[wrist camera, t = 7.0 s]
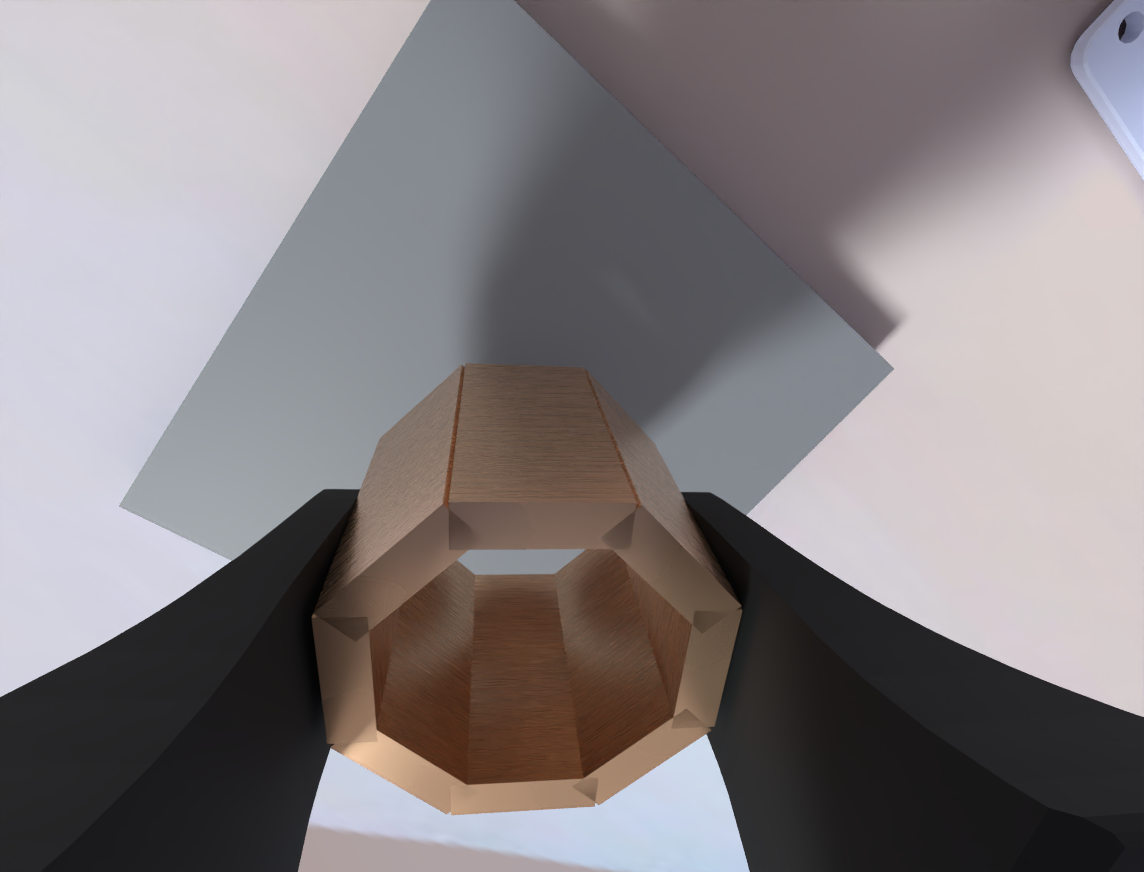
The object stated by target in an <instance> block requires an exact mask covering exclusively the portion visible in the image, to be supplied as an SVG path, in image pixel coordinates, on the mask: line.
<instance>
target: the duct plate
mask: <svg viewBox="0 0 1144 872" xmlns="http://www.w3.org/2000/svg"><path fill="white" fill-rule="evenodd" d="M465 363H478V364H506V365H534V366H562V367H583V369H584V370H585V369H587V370H588V371H589V372H590V374H591V375H592V376H593V377H594V378H595V379H596V380H597V381H598V382H599V383H600V384H601V386H602V387H603V388H604V389H605V390H606V391H607V392H608V393H609V394H610V395H611V396H612V398H613V399H614V400H615V401H616V402H617V403H618V404H619V405H620V406H621V407H622V408H623V410H624V411H625V412H626V413H627V414H628V415H629V416H630V417H631V418H632V419H633V420H634V422H635V423H636V424H637V425H638V426H639V427H640V428H641V429H642V430H643V431H644V432H645V434H646V435H647V436H648V437H649V438H650V439H651V440H652V441H653V442H654V443H655V445H656V447H657V449H658V451H659V453H660V454H661V456H662V458H663V460H664V462H665V464H666V466H667V467H668V469H669V471H670V473H671V475H672V477H673V479H674V481H675V482H676V484H677V486H678V488H679V490H680V492H711V493H712V494H714V495H716V496H718V497H719V498H721V499H723V500H724V501H726V502H727V503H729V504H730V505H732V506H733V507H734V508H736V509H737V510H739V511H740V512H742V513H743V514H745V515H747V514H748V513H749V512H750V511H751V510H752V509H753V508H754V507H755V506H756V505H757V504H758V503H759V502H760V501H761V500H762V499H763V498H764V497H765V496H766V495H767V494H768V493H769V492H770V491H771V490H772V489H773V488H774V487H775V486H776V485H777V484H778V483H779V482H780V481H781V480H782V479H783V478H784V477H785V476H786V475H787V474H788V473H789V472H790V471H791V470H792V469H793V468H794V467H795V466H796V465H797V464H798V463H799V462H800V461H801V460H802V459H804V458H805V457H806V456H807V455H808V454H809V453H810V452H811V451H812V450H813V449H814V448H815V447H816V446H817V445H818V444H819V443H820V442H821V441H822V440H823V439H824V438H825V437H826V436H827V435H828V434H829V433H830V432H831V431H832V430H833V429H834V428H835V427H836V426H837V425H838V424H839V423H840V422H841V421H842V420H843V419H844V418H845V417H846V416H847V415H848V414H849V413H850V412H851V411H852V410H853V409H854V408H855V407H856V406H857V405H858V404H859V403H860V402H861V401H862V400H863V399H864V398H865V397H866V396H867V395H868V394H869V393H870V392H871V391H872V390H873V389H874V388H875V387H876V386H877V385H878V384H879V383H880V382H881V381H882V380H883V379H884V378H885V377H886V376H887V375H888V374H889V373H890V372H892V371H893V370H894V368H893V367H892V366H891V365H890V364H889V363H888V362H887V361H886V360H885V359H884V358H883V357H882V356H881V355H880V354H879V353H877V352H876V351H875V350H874V349H873V348H872V347H871V346H870V345H869V344H868V343H867V342H866V341H865V340H864V339H863V338H862V337H861V336H860V335H859V334H858V333H857V332H856V331H855V330H854V329H853V328H852V327H851V326H850V325H849V324H848V323H847V322H845V321H844V320H843V319H842V318H841V317H840V316H839V315H838V314H837V313H836V312H835V311H834V310H833V309H832V308H831V307H830V306H829V305H828V304H827V303H826V302H825V301H824V300H823V299H822V298H821V297H820V296H819V295H818V294H817V293H816V292H815V291H813V290H812V289H811V288H810V287H809V286H808V285H807V284H806V283H805V282H804V281H803V280H802V279H801V278H800V277H799V276H798V275H797V274H796V273H795V272H794V271H793V270H792V269H791V268H790V267H789V266H788V265H787V264H786V263H785V262H784V261H783V260H782V259H780V258H779V257H778V256H777V255H776V254H775V253H774V252H773V251H772V250H771V249H770V248H769V247H768V246H767V245H766V244H765V243H764V242H763V241H762V240H761V239H760V238H759V237H758V236H757V235H756V234H755V233H754V232H753V231H752V230H751V229H750V228H748V227H747V226H746V225H745V224H744V223H743V222H742V221H741V220H740V219H739V218H738V217H737V216H736V215H735V214H734V213H733V212H732V211H731V210H730V209H729V208H728V207H727V206H726V205H725V204H724V203H723V202H722V201H721V200H720V199H719V198H718V197H717V196H715V195H714V194H713V193H712V192H711V191H710V190H709V189H708V188H707V187H706V186H705V185H704V184H703V183H702V182H701V181H700V180H699V179H698V178H697V177H696V176H695V175H694V174H693V173H692V172H691V171H690V170H689V169H688V168H687V167H686V166H685V165H683V164H682V163H681V162H680V161H679V160H678V159H677V158H676V157H675V156H674V155H673V154H672V153H671V152H670V151H669V150H668V149H667V148H666V147H665V146H664V145H663V144H662V143H661V142H660V141H659V140H658V139H657V138H656V137H655V136H654V135H653V134H651V133H650V132H649V131H648V130H647V129H646V128H645V127H644V126H643V125H642V124H641V123H640V122H639V121H638V120H637V119H636V118H635V117H634V116H633V115H632V114H631V113H630V112H629V111H628V110H627V109H626V108H625V107H624V106H623V105H622V104H621V103H620V102H618V101H617V100H616V99H615V98H614V97H613V96H612V95H611V94H610V93H609V92H608V91H607V90H606V89H605V88H604V87H603V86H602V85H601V84H600V83H599V82H598V81H597V80H596V79H595V78H594V77H593V76H592V75H591V74H590V73H589V72H588V71H586V70H585V69H584V68H583V67H582V66H581V65H580V64H579V63H578V62H577V61H576V60H575V59H574V58H573V57H572V56H571V55H570V54H569V53H568V52H567V51H566V50H565V49H564V48H563V47H562V46H561V45H560V44H559V43H558V42H557V41H556V40H554V39H553V38H552V37H551V36H550V35H549V34H548V33H547V32H546V31H545V30H544V29H543V28H542V27H541V26H540V25H539V24H538V23H537V22H536V21H535V20H534V19H533V18H532V17H531V16H530V15H529V14H528V13H527V12H526V11H525V10H524V9H523V8H521V7H520V6H519V5H518V4H517V3H516V2H515V1H514V0H431V1H430V3H429V4H428V6H427V7H426V9H425V11H424V12H423V14H422V16H421V17H420V19H419V20H418V22H417V24H416V25H415V27H414V29H413V30H412V32H411V33H410V35H409V37H408V38H407V40H406V42H405V43H404V45H403V46H402V48H401V50H400V51H399V53H398V54H397V56H396V58H395V59H394V61H393V63H392V64H391V66H390V67H389V69H388V71H387V72H386V74H385V76H384V77H383V79H382V80H381V82H380V84H379V85H378V87H377V89H376V90H375V92H374V93H373V95H372V97H371V98H370V100H369V101H368V103H367V105H366V106H365V108H364V110H363V111H362V113H361V114H360V116H359V118H358V119H357V121H356V123H355V124H354V126H353V127H352V129H351V131H350V132H349V134H348V136H347V137H346V139H345V140H344V142H343V144H342V145H341V147H340V148H339V150H338V152H337V153H336V155H335V157H334V158H333V160H332V161H331V163H330V165H329V166H328V168H327V170H326V171H325V173H324V174H323V176H322V178H321V179H320V181H319V183H318V184H317V186H316V187H315V189H314V191H313V192H312V194H311V195H310V197H309V199H308V200H307V202H306V204H305V205H304V207H303V208H302V210H301V212H300V213H299V215H298V217H297V218H296V220H295V221H294V223H293V225H292V226H291V228H290V230H289V231H288V233H287V234H286V236H285V238H284V239H283V241H282V242H281V244H280V246H279V247H278V249H277V251H276V252H275V254H274V255H273V257H272V259H271V260H270V262H269V264H268V265H267V267H266V268H265V270H264V272H263V273H262V275H261V277H260V278H259V280H258V281H257V283H256V285H255V286H254V288H253V289H252V291H251V293H250V294H249V296H248V298H247V299H246V301H245V302H244V304H243V306H242V307H241V309H240V311H239V312H238V314H237V315H236V317H235V319H234V320H233V322H232V324H231V325H230V327H229V328H228V330H227V332H226V333H225V335H224V337H223V338H222V340H221V341H220V343H219V345H218V346H217V348H216V349H215V351H214V353H213V354H212V356H211V358H210V359H209V361H208V362H207V364H206V366H205V367H204V369H203V371H202V372H201V374H200V375H199V377H198V379H197V380H196V382H195V384H194V385H193V387H192V388H191V390H190V392H189V393H188V395H187V396H186V398H185V400H184V401H183V403H182V405H181V406H180V408H179V409H178V411H177V413H176V414H175V416H174V418H173V419H172V421H171V422H170V424H169V426H168V427H167V429H166V431H165V432H164V434H163V435H162V437H161V439H160V440H159V442H158V443H157V445H156V447H155V448H154V450H153V452H152V453H151V455H150V456H149V458H148V460H147V461H146V463H145V465H144V466H143V468H142V469H141V471H140V473H139V474H138V476H137V478H136V479H135V481H134V482H133V484H132V486H131V487H130V489H129V490H128V492H127V494H126V495H125V497H124V499H123V500H122V502H121V503H120V505H119V507H121V508H123V509H126V510H128V511H130V512H132V513H134V514H136V515H138V516H140V517H142V518H144V519H146V520H148V521H151V522H153V523H155V524H157V525H159V526H161V527H163V528H165V529H167V530H169V531H171V532H173V533H175V534H178V535H180V536H182V537H184V538H186V539H188V540H190V541H192V542H194V543H196V544H198V545H200V546H203V547H205V548H207V549H209V550H211V551H213V552H215V553H217V554H219V555H221V556H223V557H225V558H227V559H230V560H234V559H235V558H237V557H238V556H239V555H241V554H242V553H243V552H245V551H246V550H247V549H249V548H250V547H251V546H252V545H254V544H255V543H256V542H258V541H259V540H260V539H261V538H263V537H264V536H265V535H267V534H268V533H269V532H270V531H272V530H273V529H274V528H275V527H277V526H278V525H279V524H281V523H282V522H283V521H284V520H285V519H287V518H288V517H289V516H290V515H292V514H293V513H294V512H295V511H297V510H298V509H299V508H300V507H301V506H303V505H304V504H305V503H306V502H308V501H309V500H310V499H311V498H313V497H314V496H315V495H317V494H318V493H319V492H321V491H322V490H323V489H361V486H362V483H363V481H364V478H365V476H366V473H367V470H368V468H369V465H370V462H371V460H372V457H373V454H374V452H375V449H376V447H377V444H378V442H379V439H380V438H381V437H382V436H383V435H384V434H385V433H386V432H387V431H388V430H390V429H391V428H392V427H393V426H394V425H395V424H396V423H397V422H398V421H400V420H401V419H402V418H403V417H404V416H405V415H406V414H407V413H408V412H410V411H411V410H412V409H413V408H414V407H415V406H416V405H417V404H418V403H420V402H421V401H422V400H423V399H424V398H425V397H426V396H427V395H428V394H429V393H431V392H432V391H433V390H434V389H435V388H436V387H437V386H438V385H439V384H441V383H442V382H443V381H444V380H445V379H446V378H447V377H448V376H449V375H451V374H452V373H453V372H454V371H455V370H456V369H457V368H458V367H459V366H460V365H463V366H464V367H465ZM585 550H586V549H530V550H468V551H467V552H466V553H464V554H463V555H462V556H461V557H459V558H458V559H457V560H458V561H459V562H460V563H461V564H463V565H464V566H465V567H466V568H468V569H469V570H470V571H471V572H473V573H474V574H475V575H504V574H555V573H556V572H557V571H559V570H560V569H561V568H563V567H564V566H565V565H566V564H568V563H569V562H570V561H572V560H573V559H574V558H576V557H577V556H578V555H579V554H581V553H582V552H583V551H585Z"/></svg>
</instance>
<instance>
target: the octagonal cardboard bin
mask: <svg viewBox="0 0 1144 872" xmlns="http://www.w3.org/2000/svg"><path fill="white" fill-rule="evenodd" d="M530 549H586V550H585V551H583V552H582V553H581V554H579V555H578V556H577V557H576V558H574V559H573V560H572V561H570V562H569V563H568V564H566V565H565V566H564V567H563V568H561V569H560V570H559V571H557V572H556V573H555V574H504V575H475V574H474V573H473V572H471V571H470V570H469V569H468V568H466V567H465V566H464V565H463V564H461V563H460V562H459V561H458V560H457V559H458V558H459V557H461V556H462V555H463V554H464V553H466V552H467V551H468V550H530ZM741 615H742V608H741V604H740V602H739V600H738V598H737V596H736V595H735V593H734V591H733V589H732V587H731V585H730V583H729V581H728V580H727V578H726V576H725V574H724V572H723V570H722V568H721V566H720V565H719V563H718V561H717V559H716V557H715V555H714V553H713V552H712V550H711V548H710V546H709V544H708V542H707V540H706V538H705V537H704V535H703V533H702V531H701V529H700V527H699V525H698V524H697V522H696V520H695V518H694V516H693V514H692V512H691V510H690V509H689V507H688V505H687V503H686V501H685V499H684V497H683V495H682V494H681V492H680V490H679V488H678V486H677V484H676V482H675V481H674V479H673V477H672V475H671V473H670V471H669V469H668V467H667V466H666V464H665V462H664V460H663V458H662V456H661V454H660V453H659V451H658V449H657V447H656V445H655V443H654V442H653V441H652V440H651V439H650V438H649V437H648V436H647V435H646V434H645V432H644V431H643V430H642V429H641V428H640V427H639V426H638V425H637V424H636V423H635V422H634V420H633V419H632V418H631V417H630V416H629V415H628V414H627V413H626V412H625V411H624V410H623V408H622V407H621V406H620V405H619V404H618V403H617V402H616V401H615V400H614V399H613V398H612V396H611V395H610V394H609V393H608V392H607V391H606V390H605V389H604V388H603V387H602V386H601V384H600V383H599V382H598V381H597V380H596V379H595V378H594V377H593V376H592V375H591V374H590V372H589V371H588V370H587V369H585V370H584V369H583V367H562V366H534V365H506V364H478V363H465V367H464V366H463V365H460V366H459V367H458V368H457V369H456V370H455V371H454V372H453V373H452V374H451V375H449V376H448V377H447V378H446V379H445V380H444V381H443V382H442V383H441V384H439V385H438V386H437V387H436V388H435V389H434V390H433V391H432V392H431V393H429V394H428V395H427V396H426V397H425V398H424V399H423V400H422V401H421V402H420V403H418V404H417V405H416V406H415V407H414V408H413V409H412V410H411V411H410V412H408V413H407V414H406V415H405V416H404V417H403V418H402V419H401V420H400V421H398V422H397V423H396V424H395V425H394V426H393V427H392V428H391V429H390V430H388V431H387V432H386V433H385V434H384V435H383V436H382V437H381V438H380V439H379V442H378V444H377V447H376V449H375V452H374V454H373V457H372V460H371V462H370V465H369V468H368V470H367V473H366V476H365V478H364V481H363V483H362V486H361V489H360V491H359V494H358V497H357V500H356V502H355V505H354V508H353V510H352V513H351V516H350V518H349V521H348V523H347V526H346V529H345V531H344V534H343V536H342V539H341V541H340V544H339V547H338V549H337V552H336V555H335V557H334V560H333V563H332V565H331V568H330V570H329V573H328V576H327V578H326V581H325V584H324V586H323V589H322V592H321V594H320V597H319V599H318V602H317V605H316V607H315V610H314V613H313V615H312V626H313V634H314V642H315V650H316V657H317V665H318V673H319V681H320V689H321V697H322V705H323V713H324V720H325V728H326V736H327V744H331V746H330V748H332V749H334V750H335V751H337V752H339V753H341V754H342V755H344V756H346V757H348V758H349V759H351V760H353V761H354V762H356V763H358V764H360V765H361V766H363V767H365V768H367V769H368V770H370V771H372V772H374V773H375V774H377V775H379V776H381V777H382V778H384V779H386V780H388V781H389V782H391V783H393V784H395V785H396V786H398V787H400V788H402V789H403V790H405V791H407V792H409V793H410V794H412V795H414V796H416V797H417V798H419V799H421V800H423V801H424V802H426V803H428V804H430V805H431V806H433V807H435V808H436V809H438V810H440V811H442V812H443V813H445V814H448V813H449V812H451V815H463V814H479V813H495V812H511V811H528V810H544V809H560V808H577V807H593V806H595V803H597V804H598V805H600V804H601V803H603V802H604V801H606V800H607V799H609V798H610V797H612V796H613V795H615V794H616V793H618V792H619V791H621V790H622V789H624V788H625V787H627V786H628V785H630V784H631V783H633V782H634V781H636V780H637V779H639V778H640V777H642V776H643V775H645V774H646V773H648V772H649V771H651V770H652V769H654V768H655V767H657V766H658V765H660V764H661V763H663V762H664V761H666V760H667V759H669V758H670V757H672V756H674V755H675V754H677V753H678V752H680V751H681V750H683V749H684V748H686V747H687V746H689V745H690V744H692V743H693V742H695V741H696V740H698V739H699V738H701V737H702V736H704V735H705V734H707V733H708V732H710V731H711V730H712V729H711V727H714V726H715V722H716V718H717V714H718V710H719V706H720V701H721V697H722V693H723V689H724V685H725V681H726V677H727V672H728V668H729V664H730V660H731V656H732V652H733V648H734V643H735V639H736V635H737V631H738V627H739V623H740V619H741Z"/></svg>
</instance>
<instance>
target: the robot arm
mask: <svg viewBox="0 0 1144 872" xmlns="http://www.w3.org/2000/svg"><path fill="white" fill-rule="evenodd" d="M1124 18H1125V21H1126V29H1125V33H1124V35H1123V36H1122V38H1121V39H1120V40H1119V36H1118V31H1119V27H1120V24H1121V22H1122V21H1123V19H1124ZM1070 66H1071V69H1072V72H1073V75H1074V76H1075V78H1076V79H1077V81H1078V82H1079V84H1080V85H1081V87H1082V88H1083V90H1084V91H1085V93H1086V94H1087V96H1088V97H1089V99H1090V100H1091V102H1092V103H1093V105H1094V106H1095V108H1096V109H1097V111H1098V112H1099V114H1100V115H1101V117H1102V118H1103V120H1104V121H1105V123H1106V124H1107V126H1108V127H1109V129H1110V130H1111V132H1112V133H1113V135H1114V137H1115V138H1116V140H1117V141H1118V143H1119V144H1120V146H1121V147H1122V149H1123V150H1124V152H1125V153H1126V155H1127V156H1128V158H1129V159H1130V161H1131V162H1132V164H1133V165H1134V167H1135V168H1136V170H1137V171H1138V173H1139V174H1140V176H1141V177H1142V179H1143V180H1144V0H1114V1H1113V2H1112V3H1111V4H1110V5H1109V6H1108V7H1107V8H1106V9H1105V10H1104V11H1103V12H1102V14H1101V15H1100V16H1099V17H1098V18H1097V19H1096V20H1095V21H1094V22H1093V23H1092V24H1091V25H1090V26H1089V27H1088V28H1087V29H1086V31H1085V32H1084V33H1083V34H1082V35H1081V36H1080V38H1079V39H1078V41H1077V42H1076V43H1075V46H1074V48H1073V51H1072V54H1071V64H1070ZM359 491H360V489H323V490H322V491H321V492H319V493H318V494H317V495H315V496H314V497H313V498H311V499H310V500H309V501H308V502H306V503H305V504H304V505H303V506H301V507H300V508H299V509H298V510H297V511H295V512H294V513H293V514H292V515H290V516H289V517H288V518H287V519H285V520H284V521H283V522H282V523H281V524H279V525H278V526H277V527H275V528H274V529H273V530H272V531H270V532H269V533H268V534H267V535H265V536H264V537H263V538H261V539H260V540H259V541H258V542H256V543H255V544H254V545H252V546H251V547H250V548H249V549H247V550H246V551H245V552H243V553H242V554H241V555H239V556H238V557H237V558H235V559H234V560H232V561H231V562H230V563H228V564H227V565H225V566H224V567H223V568H221V569H220V570H218V571H217V572H215V573H214V574H213V575H211V576H210V577H208V578H207V579H206V580H204V581H203V582H201V583H200V584H198V585H197V586H196V587H194V588H193V589H191V590H190V591H189V592H187V593H186V594H184V595H183V596H181V597H180V598H178V599H177V600H175V601H174V602H172V603H171V604H169V605H168V606H166V607H164V608H163V609H161V610H160V611H158V612H156V613H155V614H153V615H152V616H150V617H148V618H147V619H145V620H143V621H142V622H140V623H138V624H137V625H135V626H133V627H131V628H130V629H128V630H126V631H125V632H123V633H121V634H119V635H118V636H116V637H114V638H113V639H111V640H109V641H108V642H106V643H104V644H102V645H100V646H99V647H97V648H95V649H93V650H91V651H90V652H88V653H86V654H84V655H82V656H80V657H78V658H76V659H74V660H72V661H70V662H68V663H66V664H64V665H62V666H60V667H59V668H57V669H55V670H53V671H51V672H49V673H47V674H45V675H43V676H41V677H39V678H37V679H35V680H33V681H31V682H29V683H27V684H25V685H23V686H21V687H19V688H17V689H15V690H14V691H12V692H10V693H8V694H6V695H4V696H2V697H0V872H298V868H299V863H300V859H301V854H302V850H303V845H304V840H305V835H306V831H307V827H308V822H309V818H310V814H311V811H312V807H313V803H314V800H315V796H316V792H317V789H318V785H319V782H320V779H321V776H322V773H323V769H324V766H325V763H326V760H327V757H328V754H329V751H330V746H331V744H327V736H326V728H325V720H324V713H323V705H322V697H321V689H320V681H319V673H318V665H317V657H316V650H315V642H314V634H313V626H312V615H313V613H314V610H315V607H316V605H317V602H318V599H319V597H320V594H321V592H322V589H323V586H324V584H325V581H326V578H327V576H328V573H329V570H330V568H331V565H332V563H333V560H334V557H335V555H336V552H337V549H338V547H339V544H340V541H341V539H342V536H343V534H344V531H345V529H346V526H347V523H348V521H349V518H350V516H351V513H352V510H353V508H354V505H355V502H356V500H357V497H358V494H359ZM681 494H682V495H683V497H684V499H685V501H686V503H687V505H688V507H689V509H690V510H691V512H692V514H693V516H694V518H695V520H696V522H697V524H698V525H699V527H700V529H701V531H702V533H703V535H704V537H705V538H706V540H707V542H708V544H709V546H710V548H711V550H712V552H713V553H714V555H715V557H716V559H717V561H718V563H719V565H720V566H721V568H722V570H723V572H724V574H725V576H726V578H727V580H728V581H729V583H730V585H731V587H732V589H733V591H734V593H735V595H736V596H737V598H738V600H739V602H740V604H741V608H742V615H741V619H740V623H739V627H738V631H737V635H736V639H735V643H734V648H733V652H732V656H731V660H730V664H729V668H728V672H727V677H726V681H725V685H724V689H723V693H722V697H721V701H720V706H719V710H718V714H717V718H716V722H715V726H714V727H711V729H712V730H711V731H710V732H708V733H707V736H708V739H709V741H710V744H711V747H712V749H713V752H714V754H715V757H716V759H717V762H718V765H719V768H720V771H721V774H722V776H723V779H724V782H725V785H726V788H727V791H728V794H729V798H730V801H731V805H732V809H733V812H734V816H735V819H736V823H737V827H738V830H739V834H740V837H741V841H742V845H743V848H744V852H745V855H746V859H747V863H748V867H749V871H750V872H1144V717H1141V716H1138V715H1135V714H1132V713H1130V712H1127V711H1124V710H1121V709H1118V708H1115V707H1113V706H1110V705H1107V704H1105V703H1102V702H1099V701H1097V700H1094V699H1091V698H1089V697H1086V696H1083V695H1081V694H1078V693H1075V692H1073V691H1070V690H1067V689H1065V688H1062V687H1059V686H1057V685H1054V684H1052V683H1049V682H1047V681H1044V680H1042V679H1039V678H1037V677H1034V676H1032V675H1029V674H1027V673H1024V672H1022V671H1020V670H1017V669H1015V668H1012V667H1010V666H1008V665H1006V664H1003V663H1001V662H999V661H997V660H994V659H992V658H990V657H988V656H985V655H983V654H981V653H979V652H976V651H974V650H972V649H970V648H967V647H965V646H963V645H961V644H959V643H956V642H954V641H952V640H950V639H948V638H946V637H944V636H942V635H940V634H938V633H936V632H934V631H932V630H930V629H928V628H926V627H924V626H922V625H920V624H918V623H916V622H914V621H913V620H911V619H909V618H907V617H905V616H903V615H901V614H899V613H897V612H896V611H894V610H892V609H890V608H888V607H886V606H884V605H882V604H881V603H879V602H877V601H875V600H874V599H872V598H870V597H868V596H867V595H865V594H863V593H862V592H860V591H858V590H857V589H855V588H853V587H852V586H850V585H849V584H847V583H845V582H844V581H842V580H840V579H839V578H837V577H836V576H834V575H832V574H831V573H829V572H828V571H826V570H824V569H823V568H821V567H820V566H818V565H817V564H815V563H814V562H812V561H811V560H809V559H808V558H806V557H805V556H803V555H802V554H800V553H799V552H797V551H796V550H794V549H793V548H791V547H790V546H788V545H787V544H786V543H784V542H783V541H781V540H780V539H778V538H777V537H776V536H774V535H773V534H771V533H770V532H768V531H767V530H766V529H764V528H763V527H761V526H760V525H759V524H757V523H756V522H754V521H753V520H752V519H750V518H749V517H747V516H746V515H745V514H743V513H742V512H740V511H739V510H737V509H736V508H734V507H733V506H732V505H730V504H729V503H727V502H726V501H724V500H723V499H721V498H719V497H718V496H716V495H714V494H712V493H711V492H681Z"/></svg>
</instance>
